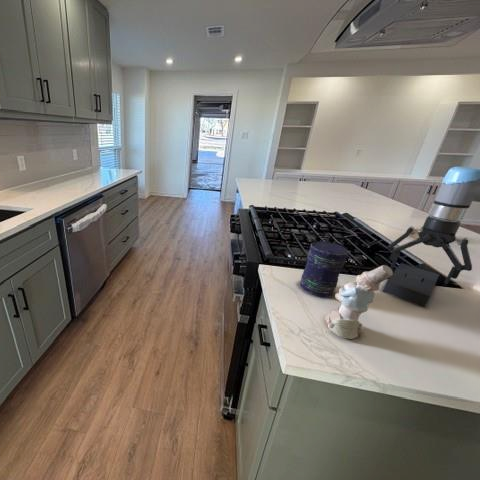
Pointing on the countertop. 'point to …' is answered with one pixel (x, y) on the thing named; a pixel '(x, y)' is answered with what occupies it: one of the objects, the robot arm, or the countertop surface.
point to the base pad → (409, 288)
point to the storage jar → (323, 268)
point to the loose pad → (417, 273)
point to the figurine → (356, 302)
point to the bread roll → (417, 233)
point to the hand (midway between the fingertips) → (416, 276)
